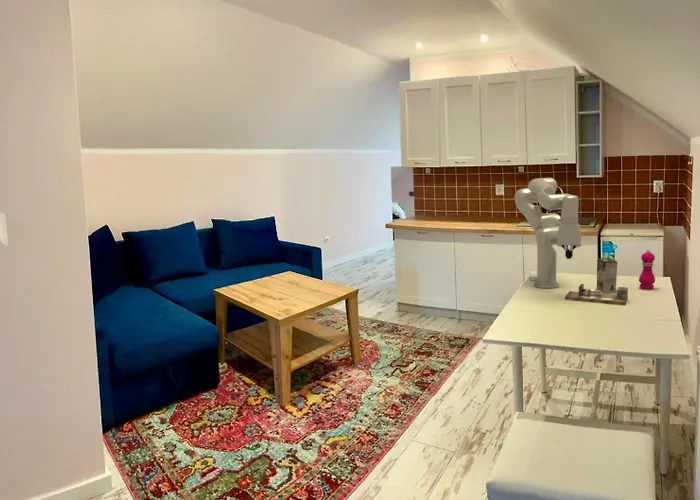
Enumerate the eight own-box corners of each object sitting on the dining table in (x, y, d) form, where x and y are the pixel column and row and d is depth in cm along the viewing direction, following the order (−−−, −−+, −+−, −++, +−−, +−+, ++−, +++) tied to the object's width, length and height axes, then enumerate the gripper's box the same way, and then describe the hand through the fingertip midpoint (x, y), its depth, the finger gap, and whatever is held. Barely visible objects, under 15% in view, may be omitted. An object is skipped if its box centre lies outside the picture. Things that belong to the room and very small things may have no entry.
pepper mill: (654, 287, 277) (656, 248, 273) (655, 290, 271) (657, 251, 267) (638, 286, 280) (639, 247, 276) (638, 289, 274) (640, 250, 270)
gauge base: (565, 299, 264) (565, 287, 263) (569, 293, 273) (569, 282, 272) (624, 305, 250) (625, 292, 249) (627, 299, 259) (628, 287, 258)
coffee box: (595, 289, 279) (596, 258, 276) (608, 288, 279) (609, 257, 276) (603, 293, 270) (604, 261, 267) (616, 293, 270) (617, 261, 267)
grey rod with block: (577, 295, 262) (578, 287, 262) (580, 291, 269) (581, 283, 268) (598, 297, 257) (599, 289, 257) (601, 293, 264) (601, 285, 263)
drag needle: (587, 296, 258) (587, 290, 258) (588, 295, 260) (588, 289, 260) (589, 297, 258) (589, 291, 257) (590, 295, 260) (590, 289, 259)
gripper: (551, 221, 264) (551, 259, 267) (584, 222, 256) (583, 261, 259) (555, 219, 270) (554, 256, 273) (587, 220, 262) (586, 258, 265)
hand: (568, 258), depth 266 cm, fingers closed
